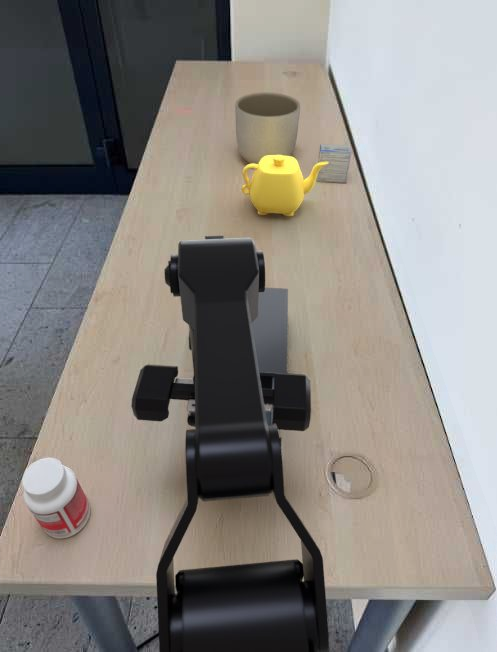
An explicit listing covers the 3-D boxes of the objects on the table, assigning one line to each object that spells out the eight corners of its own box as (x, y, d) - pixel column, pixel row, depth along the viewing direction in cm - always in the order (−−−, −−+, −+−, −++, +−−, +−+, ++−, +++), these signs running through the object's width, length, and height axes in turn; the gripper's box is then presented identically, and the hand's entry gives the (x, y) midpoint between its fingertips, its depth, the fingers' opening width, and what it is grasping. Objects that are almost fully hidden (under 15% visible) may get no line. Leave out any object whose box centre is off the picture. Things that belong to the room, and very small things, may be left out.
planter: (229, 169, 133) (228, 112, 122) (243, 143, 145) (243, 89, 134) (290, 176, 130) (294, 119, 120) (299, 149, 142) (304, 95, 131)
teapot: (243, 190, 125) (244, 142, 116) (321, 194, 124) (328, 145, 115) (238, 219, 115) (238, 169, 106) (323, 223, 114) (330, 173, 105)
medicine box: (345, 175, 131) (350, 144, 125) (346, 184, 128) (351, 152, 122) (316, 174, 132) (320, 143, 126) (316, 182, 128) (320, 150, 122)
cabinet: (283, 404, 77) (287, 374, 72) (205, 399, 78) (202, 369, 72) (285, 319, 91) (287, 288, 86) (218, 315, 92) (217, 284, 86)
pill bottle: (81, 486, 67) (60, 442, 59) (98, 522, 63) (78, 481, 56) (36, 510, 64) (8, 468, 57) (51, 550, 61) (23, 511, 53)
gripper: (315, 301, 53) (302, 389, 64) (145, 291, 53) (161, 380, 64) (317, 382, 45) (302, 467, 56) (118, 369, 46) (142, 455, 57)
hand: (224, 438), depth 58 cm, fingers closed
